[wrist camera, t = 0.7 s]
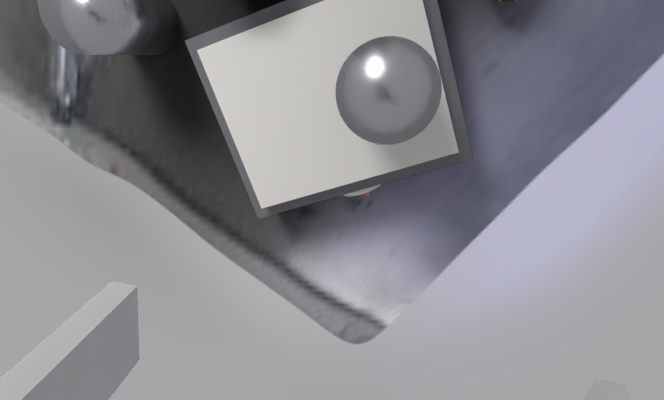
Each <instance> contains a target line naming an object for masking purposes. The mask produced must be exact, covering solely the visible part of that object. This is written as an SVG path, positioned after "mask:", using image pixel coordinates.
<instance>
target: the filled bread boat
mask: <svg viewBox="0 0 664 400" xmlns="http://www.w3.org/2000/svg"><path fill="white" fill-rule="evenodd" d="M499 1H503V2H510V3H514V2H517V1H519V0H499Z"/></svg>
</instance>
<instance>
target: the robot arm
mask: <svg viewBox="0 0 664 400" xmlns="http://www.w3.org/2000/svg"><path fill="white" fill-rule="evenodd" d="M138 337H139V335H138V302H137V286H134V285H128V284H124V283H119V282H113V281H111V282H110V283H109V284H108V285H107V286H106V287H104V288H103V289H102V290H101V291H100V292H99V293H98V294H96V295H95V296H94V297H93V298H92V299H91V300H89V301H88V302H87V303H86V304H85V305H84V306H83V307H82V308H80V309H79V310H78V311H77V312H76V313H75V314H74V315H72V316H71V317H70V318H69V319H68V320H66V321H65V322H64V323H63V324H62V325H61V326H60V327H58V329H56V330H55V331H54V332H53V333H52V334H50V335H49V336H48V337H47V338H46V339H45V340H44V341H42V342H41V343H40V344H39V345H38V346H37V347H36V348H34V350H32V351H31V352H30V353H29V354H27V355H26V356H25V357H24V358H23V359H22V360H21V361H20V362H18V363H17V364H16V365H15V366H14V367H13V368H11V369H10V370H9V371H8V372H7V373H6V374H5V375H3V376H2V377H1V378H0V400H108V399H109V398H110V397H111V395H112V394H113V393H114V392H115V390H116V389H117V388H118V386H119V385H120V384H121V382H122V381H123V380H124V379H125V377H126V376H127V375H128V373H129V372H130V371H131V370H132V368H133V367H134V366H135V364H136V363H137V362H138V360H139V338H138ZM584 400H635V399H634V398H633V397H632V395H631V394H630V392H629V391H628V390H627V388H626V387H625V386H624V384H620V383H615V382H610V381H605V380H600V379H595V380H594V382H593V384H592V386H591V388H590V389H589V392H588V393H587V395H586V397H585V399H584Z"/></svg>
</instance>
